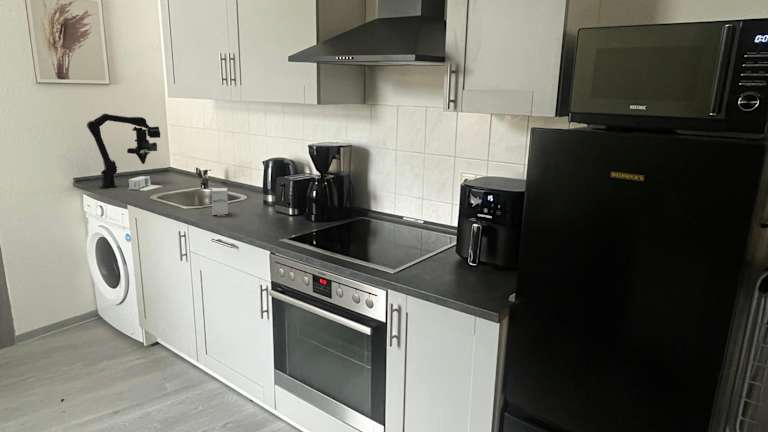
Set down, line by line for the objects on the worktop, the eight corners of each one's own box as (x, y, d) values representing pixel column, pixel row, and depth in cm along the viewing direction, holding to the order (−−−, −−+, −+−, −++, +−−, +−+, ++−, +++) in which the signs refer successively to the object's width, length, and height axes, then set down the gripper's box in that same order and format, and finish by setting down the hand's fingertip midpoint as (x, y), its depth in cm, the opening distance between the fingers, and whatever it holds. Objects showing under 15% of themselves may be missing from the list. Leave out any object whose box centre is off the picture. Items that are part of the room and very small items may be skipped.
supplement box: (212, 216, 251) (211, 190, 248) (212, 212, 258) (211, 187, 255) (228, 215, 253) (227, 190, 250) (228, 212, 260) (227, 187, 257)
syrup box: (137, 180, 300) (150, 176, 314) (127, 179, 300) (141, 175, 314) (138, 189, 301) (151, 185, 315) (128, 189, 302) (142, 184, 316)
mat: (128, 188, 304) (128, 188, 304) (146, 184, 318) (146, 184, 318) (144, 190, 301) (144, 190, 301) (162, 186, 315) (162, 186, 315)
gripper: (140, 140, 300) (142, 166, 304) (163, 137, 317) (165, 163, 321) (125, 139, 303) (127, 165, 307) (148, 136, 321) (150, 161, 324)
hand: (143, 163), depth 315 cm, fingers closed
